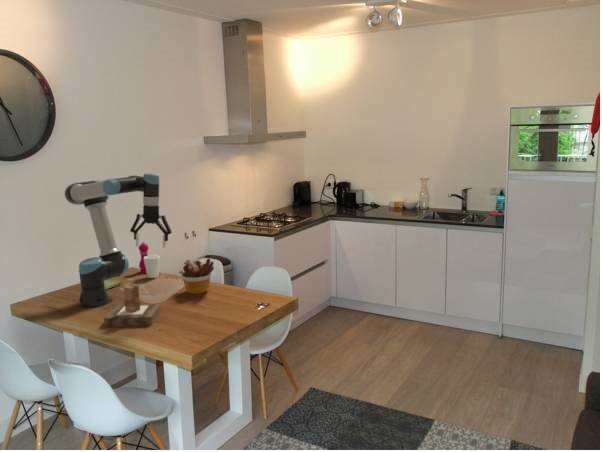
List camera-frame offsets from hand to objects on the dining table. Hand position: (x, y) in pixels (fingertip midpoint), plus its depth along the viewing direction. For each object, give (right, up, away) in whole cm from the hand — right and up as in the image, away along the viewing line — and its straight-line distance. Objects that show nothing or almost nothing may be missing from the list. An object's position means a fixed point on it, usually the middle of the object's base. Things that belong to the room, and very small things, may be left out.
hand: (150, 246), depth 265 cm
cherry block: (-6, -30, -10) cm, 32 cm away
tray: (-6, -34, -9) cm, 36 cm away
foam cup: (-16, -21, +60) cm, 66 cm away
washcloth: (-41, -25, +45) cm, 66 cm away
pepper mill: (-24, -19, +73) cm, 79 cm away
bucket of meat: (+18, -26, +31) cm, 44 cm away
